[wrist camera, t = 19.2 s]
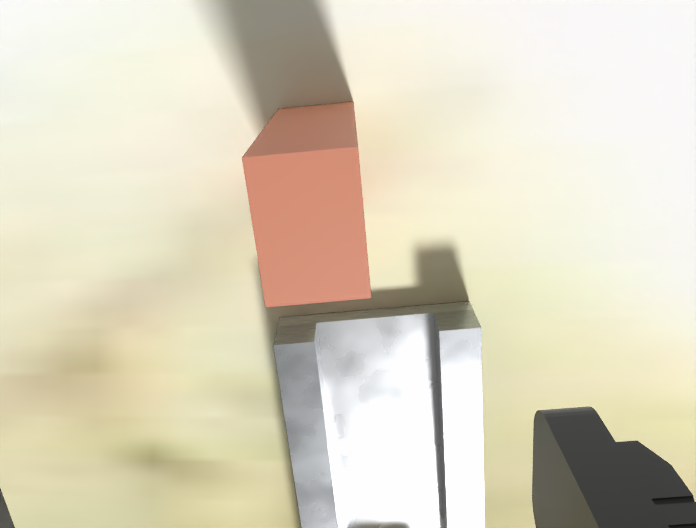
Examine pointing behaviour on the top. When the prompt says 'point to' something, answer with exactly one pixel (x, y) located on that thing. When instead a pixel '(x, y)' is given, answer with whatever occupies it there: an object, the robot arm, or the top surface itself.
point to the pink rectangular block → (308, 206)
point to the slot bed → (385, 416)
